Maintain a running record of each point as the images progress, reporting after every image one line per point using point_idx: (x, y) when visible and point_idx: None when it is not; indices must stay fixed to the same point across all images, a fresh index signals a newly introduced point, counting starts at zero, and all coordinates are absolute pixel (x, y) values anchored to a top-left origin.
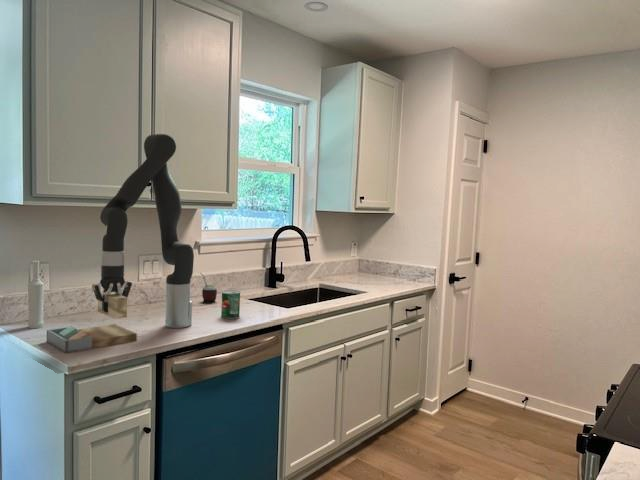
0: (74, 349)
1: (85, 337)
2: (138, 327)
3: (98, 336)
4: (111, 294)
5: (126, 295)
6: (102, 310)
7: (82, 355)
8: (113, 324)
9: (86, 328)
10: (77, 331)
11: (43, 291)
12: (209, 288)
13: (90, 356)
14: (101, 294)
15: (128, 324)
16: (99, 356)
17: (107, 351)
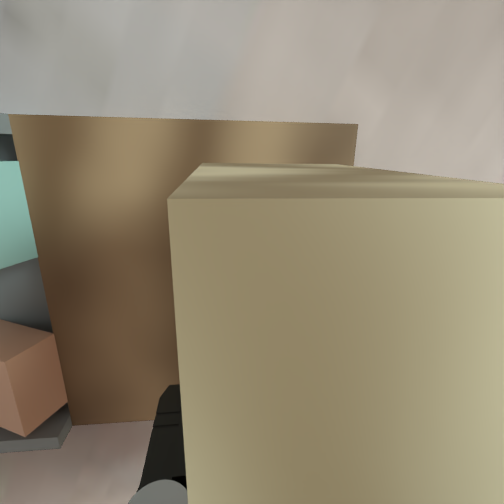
0: None
1: (19, 446)
2: (483, 148)
3: (132, 363)
4: None
5: None
6: (169, 385)
7: (23, 458)
8: (343, 130)
9: (129, 121)
10: (10, 265)
11: None
12: None
13: (51, 482)
14: (187, 437)
15: (499, 15)
16: (84, 495)
17: (135, 457)
